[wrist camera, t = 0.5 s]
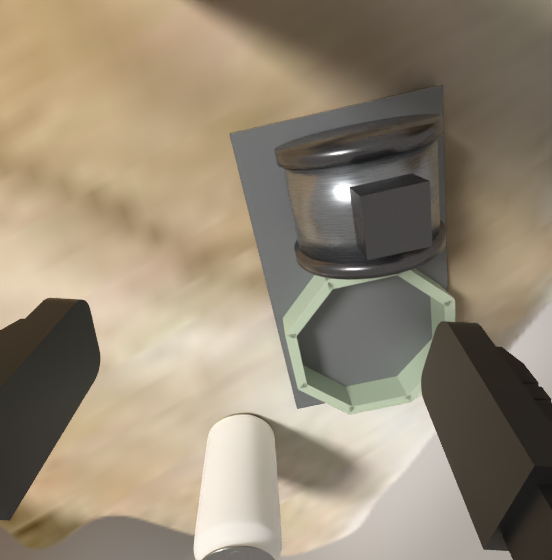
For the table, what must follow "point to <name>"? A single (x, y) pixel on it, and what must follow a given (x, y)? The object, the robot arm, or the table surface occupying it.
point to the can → (239, 493)
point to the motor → (366, 197)
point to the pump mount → (338, 292)
